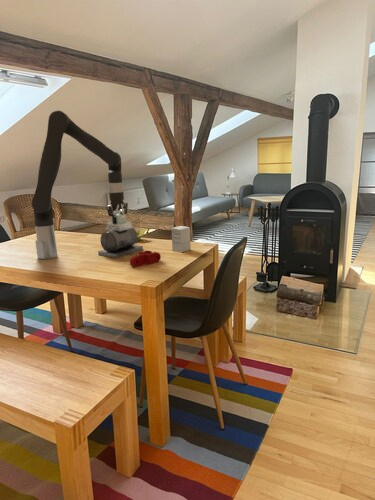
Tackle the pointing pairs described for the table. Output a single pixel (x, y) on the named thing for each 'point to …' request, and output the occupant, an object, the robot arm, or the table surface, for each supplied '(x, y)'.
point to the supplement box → (181, 238)
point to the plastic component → (140, 233)
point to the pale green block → (120, 219)
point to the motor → (119, 240)
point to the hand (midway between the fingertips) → (118, 223)
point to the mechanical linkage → (145, 258)
